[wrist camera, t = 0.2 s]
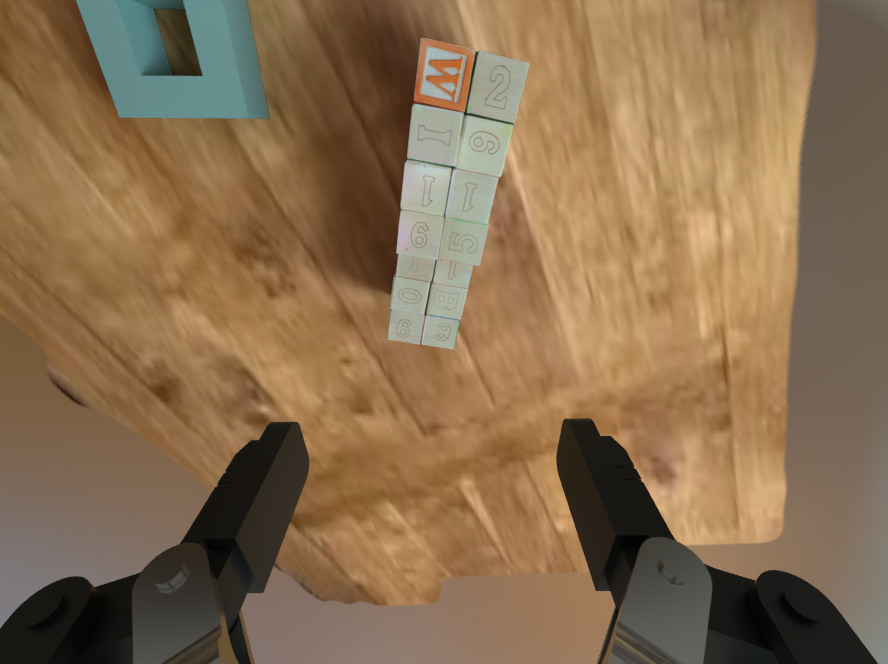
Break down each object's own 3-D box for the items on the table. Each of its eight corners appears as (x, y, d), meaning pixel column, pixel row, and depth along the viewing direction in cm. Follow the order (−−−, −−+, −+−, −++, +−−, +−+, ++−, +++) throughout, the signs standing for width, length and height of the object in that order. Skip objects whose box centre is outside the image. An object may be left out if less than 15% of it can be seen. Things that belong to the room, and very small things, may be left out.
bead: (102, -40, 27) (52, -63, 24) (238, -39, 27) (208, -62, 24) (154, 117, 32) (119, 117, 29) (269, 118, 32) (248, 118, 29)
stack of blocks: (451, 306, 42) (454, 371, 31) (395, 296, 41) (379, 359, 30) (502, 80, 31) (533, 60, 20) (428, 63, 30) (420, 32, 20)
